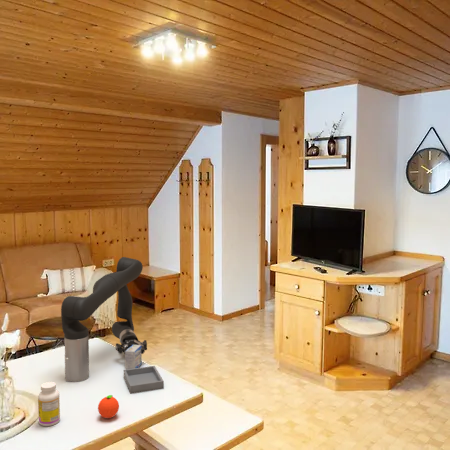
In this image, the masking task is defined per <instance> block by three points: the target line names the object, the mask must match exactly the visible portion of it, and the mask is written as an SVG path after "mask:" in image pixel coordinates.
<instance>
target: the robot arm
mask: <svg viewBox="0 0 450 450" xmlns="http://www.w3.org/2000/svg"><path fill="white" fill-rule="evenodd" d="M143 269H144V268H143V263H142V262H141V261H140V260H139V259H136V258H130V257H126V256H123V257H120V258H119V260H118V261H117V263H116V272H110V273H107V274H105V275H103V276H102V277H100V278H98V279H97V280H96V281H95V283H94V285H93V287H92V293H91V294H90V295H87V296H76V295H75V296H74V295H73V296H72V295H71V296H70V295H69V296H66V297H65V298H64V299H63V300H62V303H61V308H60V315H61V325H62V326H61V329H62V332H63V335H64V336H63V338H64V376H65V382H73V383H77V382H83V381H85V380H87V379H88V378H89V377H90V353H89V352H90V351H89V349H90V346H89V345H90V343H89V329H88V327H87V326H85V325H84V324H83V323H81V321H86V320H87V319H89V318H90V317H92V316H93V314H94V313H95V312H96V311H97V310H98V309H99V307H100V306H101V305H102V304H104V303H105V302H107V300H108V299H110V298H111V297H112V296H114V295H115V294H116V293H117V308H116V310H117V311H116V316H117V317H118V318H119V319H122V320H121V321H120V320H119V321H115V322H113V324H112V326H111V332H112V335H113V336H114V337H116V338H117V339H118V340H119V343H117V342H116V343H115V351H117V353H119V354H122V353H123V354H124V355H125V351H126V350H127V349H128V348H129V347H131V346H132V345H141V350H142V355H143V354H144V353H145V352H146V351H147V350H148V342H147V340H145V339H144V340H143V341H140V340H139V338H138V336H137V334H136V333H135V327H134V322H133V315H132V314H133V311H132V310H133V303H134V302H133V297H132V294H131V292H130V290H129V288H128V285H127V284H129V283H131V282H132V281H135V280H136V279H137V278H138V277H139V276H141V274H142V272H143ZM123 320H124V321H123Z"/></svg>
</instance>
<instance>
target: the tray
mask: <svg viewBox="0 0 450 450" xmlns="http://www.w3.org/2000/svg"><path fill="white" fill-rule="evenodd" d="M123 379H124V381H125V384H126V387H127V389H128V392H129V394H137V393H138V394H139V393H145V392H151V391H156V390H158V391H159V390H163V389H165V386H164V385H165V384H164V379H163V378H162V376H161V374H160V373H159V370H158V369H157V367H156V365H148V366H143V367H138V368H134V369H127V370H125V369H123Z"/></svg>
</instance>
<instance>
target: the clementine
mask: <svg viewBox="0 0 450 450" xmlns="http://www.w3.org/2000/svg"><path fill="white" fill-rule="evenodd" d="M119 408H120V404H119V401H118V400H117V399H116V397H114V396H113V395H112V394H109V395H107V396H105V397H103V398H101V400H100V401H99V403H98V406H97V411H98V414H99V415H100V416H101V417H102V418H104V419H111V418H113V417H114V416H116V415H117V414H118V411H119Z"/></svg>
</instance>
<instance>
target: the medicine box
mask: <svg viewBox="0 0 450 450" xmlns="http://www.w3.org/2000/svg"><path fill="white" fill-rule="evenodd" d="M142 355H143V354H142V350H141V345H132V346H131V347H129V348H128V349H127V350H126V351H125V354H124V366H125V368H124V370H127V369H134V368H140V366H141V365H142V364H143V363H142V362H143V361H142V360H143V359H142Z"/></svg>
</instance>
